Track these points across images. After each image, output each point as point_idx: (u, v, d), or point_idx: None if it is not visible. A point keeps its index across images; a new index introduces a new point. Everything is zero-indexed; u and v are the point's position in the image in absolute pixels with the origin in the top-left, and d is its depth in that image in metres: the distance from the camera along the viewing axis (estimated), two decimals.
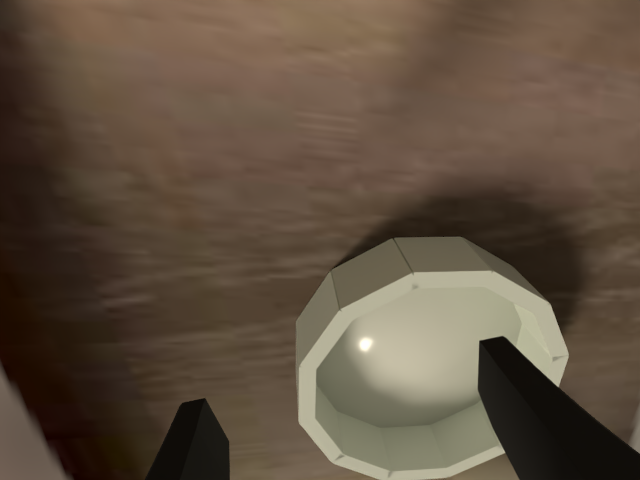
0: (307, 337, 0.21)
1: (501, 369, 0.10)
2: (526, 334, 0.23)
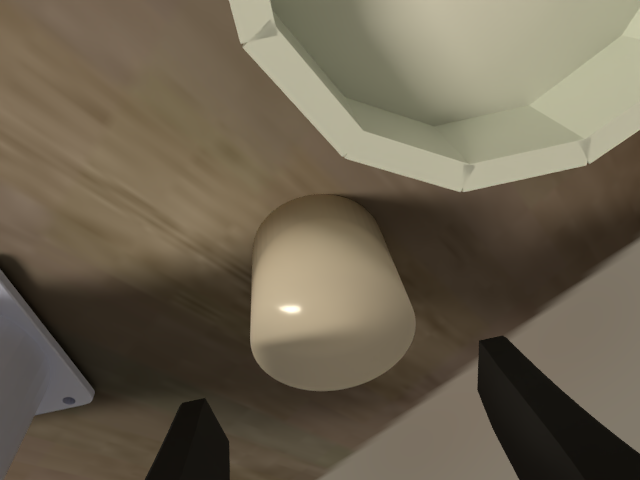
0: None
1: (501, 369, 0.10)
2: (626, 45, 0.12)
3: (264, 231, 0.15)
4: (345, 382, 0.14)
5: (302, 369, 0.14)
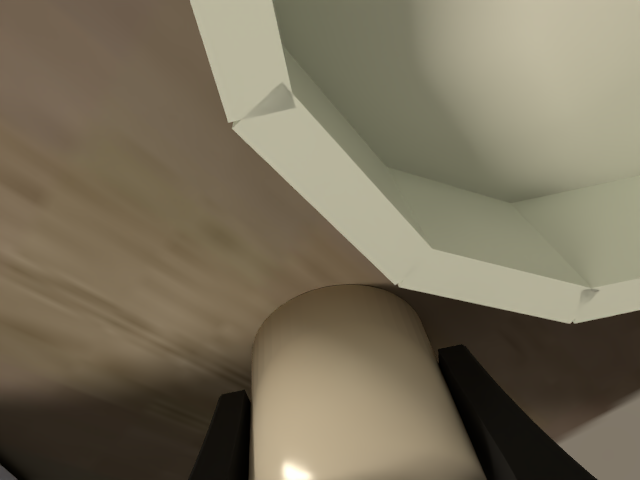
0: None
1: (456, 378, 0.10)
2: None
3: (267, 339, 0.11)
4: None
5: None
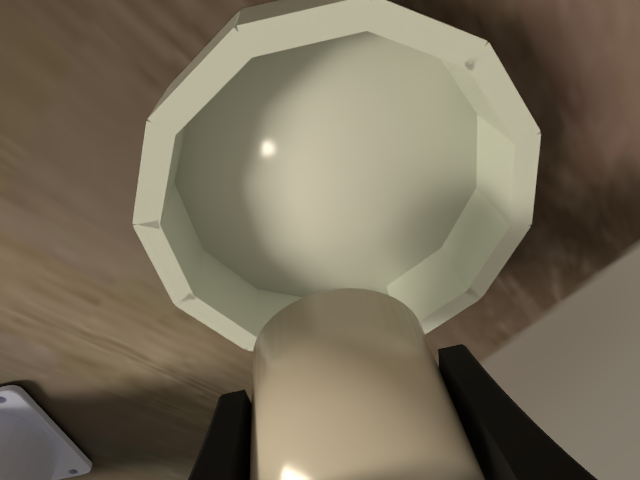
0: (268, 12, 0.12)
1: (456, 378, 0.10)
2: (440, 259, 0.19)
3: (270, 342, 0.11)
4: None
5: None
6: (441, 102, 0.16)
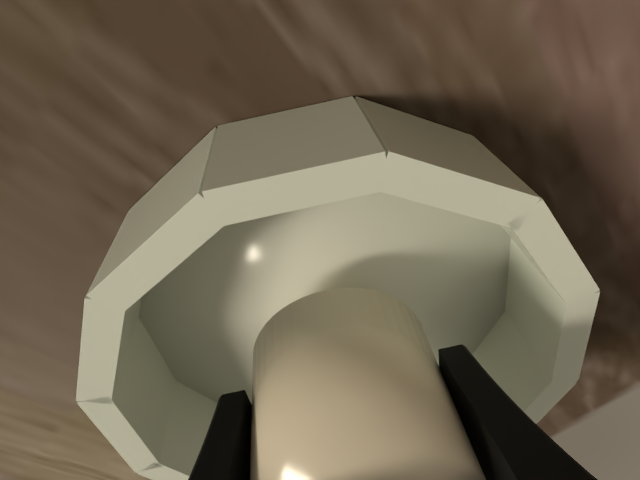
0: (247, 157, 0.09)
1: (455, 378, 0.10)
2: None
3: (270, 341, 0.11)
4: None
5: None
6: (467, 226, 0.13)
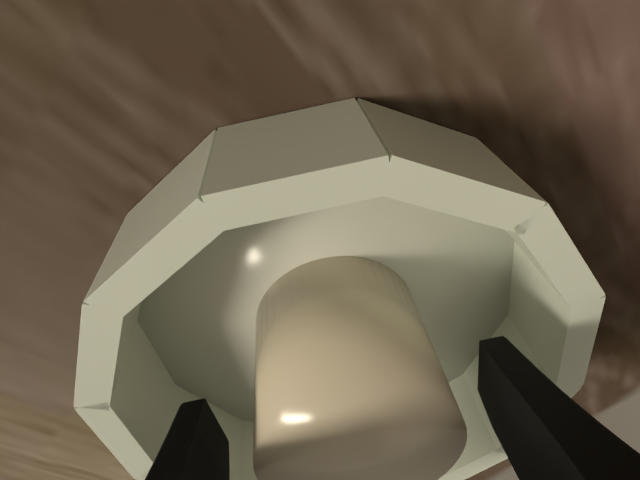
0: (247, 160, 0.09)
1: (501, 369, 0.10)
2: (462, 391, 0.16)
3: (271, 303, 0.12)
4: None
5: None
6: (470, 229, 0.12)
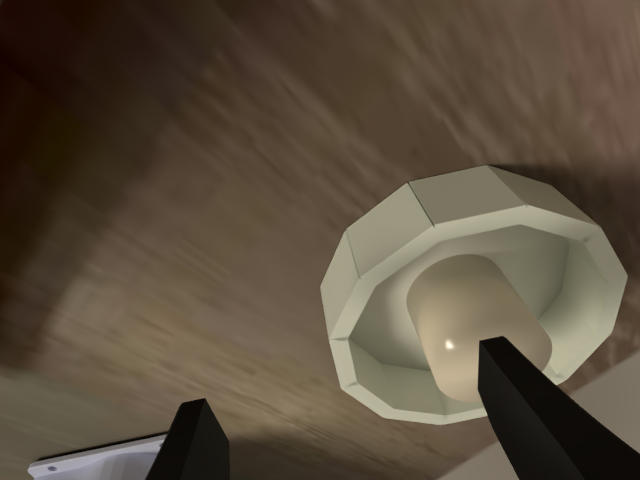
0: (446, 205, 0.17)
1: (501, 369, 0.10)
2: None
3: (426, 282, 0.20)
4: None
5: (464, 386, 0.19)
6: (544, 238, 0.21)
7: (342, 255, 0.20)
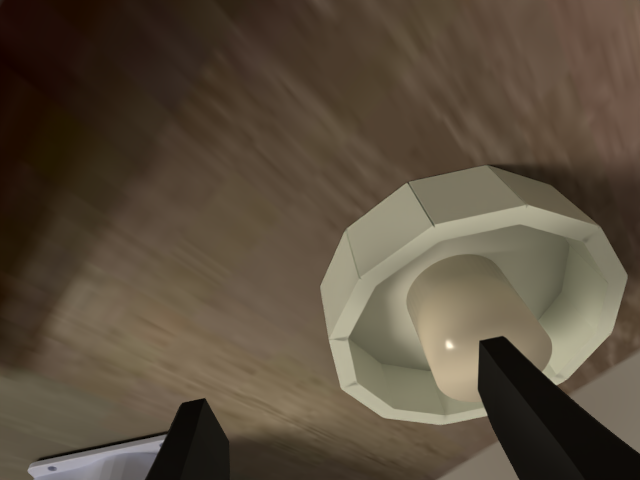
0: (446, 205, 0.17)
1: (501, 369, 0.10)
2: None
3: (426, 282, 0.20)
4: None
5: (464, 386, 0.19)
6: (544, 238, 0.21)
7: (342, 255, 0.20)
